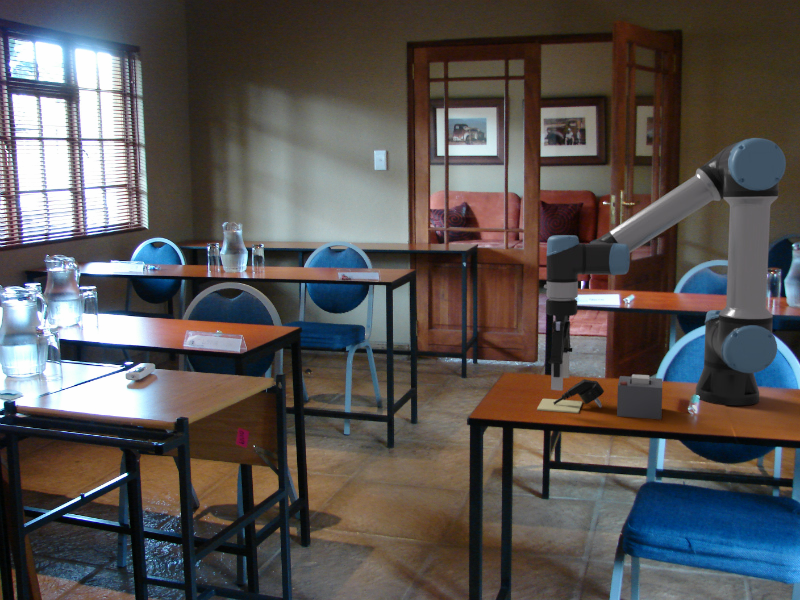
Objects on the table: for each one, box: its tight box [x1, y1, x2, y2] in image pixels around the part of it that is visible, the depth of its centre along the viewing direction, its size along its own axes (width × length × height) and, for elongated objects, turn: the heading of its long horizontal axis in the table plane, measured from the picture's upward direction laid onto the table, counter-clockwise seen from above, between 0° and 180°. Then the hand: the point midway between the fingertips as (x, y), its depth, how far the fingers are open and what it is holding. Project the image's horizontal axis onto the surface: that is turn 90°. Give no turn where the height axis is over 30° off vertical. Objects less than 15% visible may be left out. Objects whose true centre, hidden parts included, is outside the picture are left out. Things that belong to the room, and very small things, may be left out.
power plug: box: [553, 378, 605, 409], centre depth 193 cm, size 6×8×12 cm
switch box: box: [616, 375, 663, 420], centre depth 188 cm, size 10×10×8 cm
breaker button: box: [631, 374, 650, 385], centre depth 187 cm, size 4×4×4 cm
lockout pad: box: [536, 398, 583, 414], centre depth 194 cm, size 10×10×1 cm
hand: (560, 383), depth 194 cm, fingers open, 13 cm apart
